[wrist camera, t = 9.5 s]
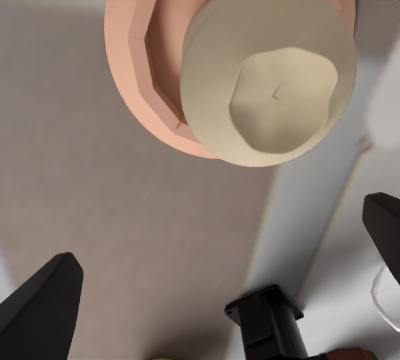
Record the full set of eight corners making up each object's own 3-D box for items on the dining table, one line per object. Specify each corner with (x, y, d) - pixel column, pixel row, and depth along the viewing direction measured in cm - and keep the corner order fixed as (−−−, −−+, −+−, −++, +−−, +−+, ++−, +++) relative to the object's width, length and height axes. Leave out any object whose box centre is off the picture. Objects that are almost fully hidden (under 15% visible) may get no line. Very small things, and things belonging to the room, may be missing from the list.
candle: (162, 37, 15) (135, 78, 7) (249, -32, 14) (348, -87, 6) (215, 116, 18) (243, 216, 10) (293, 64, 17) (408, 128, 8)
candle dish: (381, 74, 18) (407, 83, 16) (202, 187, 22) (204, 206, 20) (280, -217, 11) (300, -265, 9) (52, 18, 15) (31, 20, 13)
